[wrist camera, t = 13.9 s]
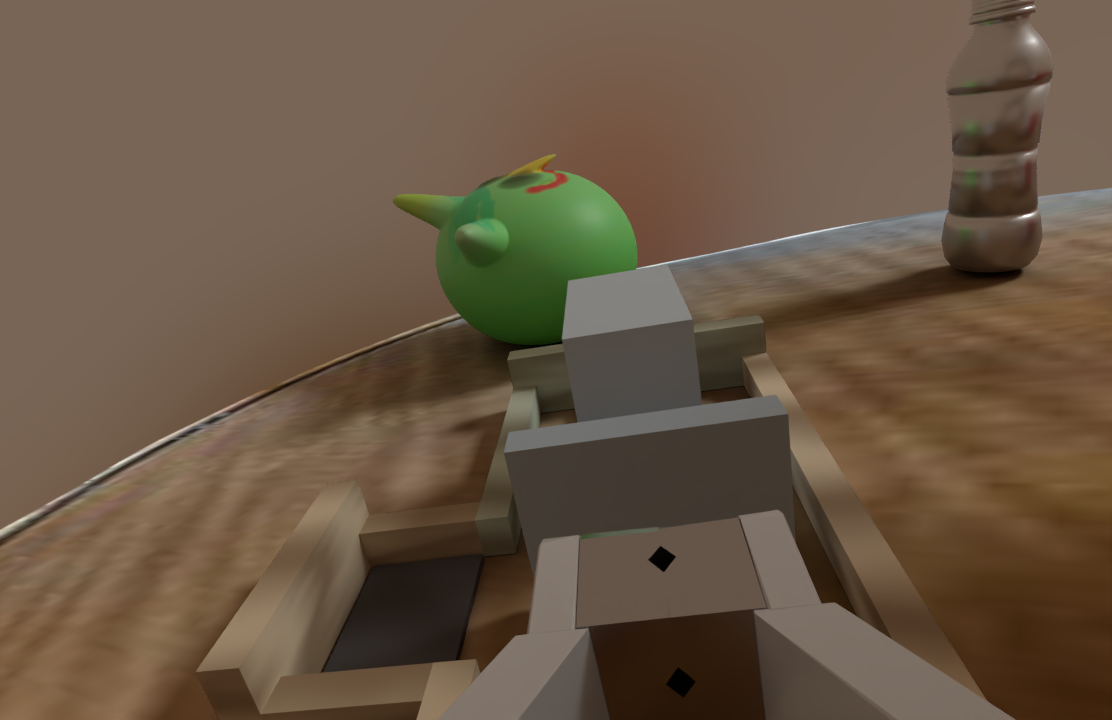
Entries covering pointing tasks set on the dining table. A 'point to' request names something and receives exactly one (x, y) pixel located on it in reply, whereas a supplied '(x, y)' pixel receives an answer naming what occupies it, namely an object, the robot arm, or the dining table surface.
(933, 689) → the robot arm
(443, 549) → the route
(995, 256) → the plastic bottle
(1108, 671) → the dining table surface
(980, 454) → the dining table surface
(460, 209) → the toy bird
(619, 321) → the bookend block
